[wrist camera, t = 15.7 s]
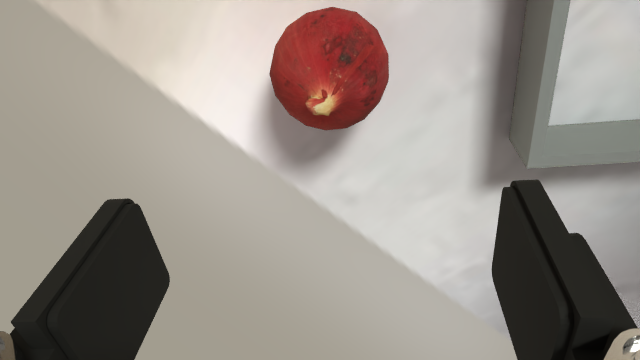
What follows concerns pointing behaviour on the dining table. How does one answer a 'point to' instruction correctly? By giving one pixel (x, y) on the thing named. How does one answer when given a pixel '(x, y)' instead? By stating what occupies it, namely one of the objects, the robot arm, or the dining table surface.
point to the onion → (330, 68)
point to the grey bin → (536, 100)
